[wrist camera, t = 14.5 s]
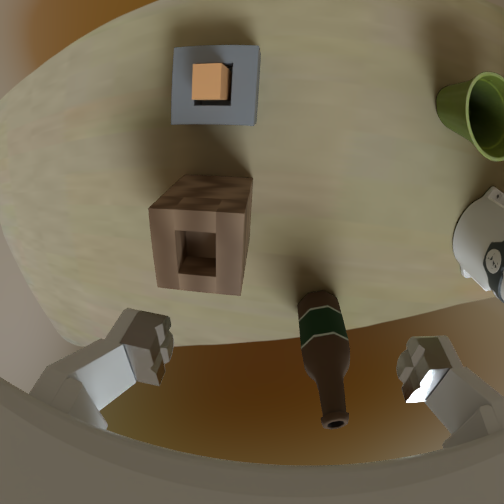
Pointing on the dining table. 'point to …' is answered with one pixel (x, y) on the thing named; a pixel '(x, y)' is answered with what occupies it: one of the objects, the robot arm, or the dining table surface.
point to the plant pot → (476, 112)
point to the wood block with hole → (202, 234)
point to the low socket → (242, 85)
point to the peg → (211, 82)
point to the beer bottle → (325, 353)
